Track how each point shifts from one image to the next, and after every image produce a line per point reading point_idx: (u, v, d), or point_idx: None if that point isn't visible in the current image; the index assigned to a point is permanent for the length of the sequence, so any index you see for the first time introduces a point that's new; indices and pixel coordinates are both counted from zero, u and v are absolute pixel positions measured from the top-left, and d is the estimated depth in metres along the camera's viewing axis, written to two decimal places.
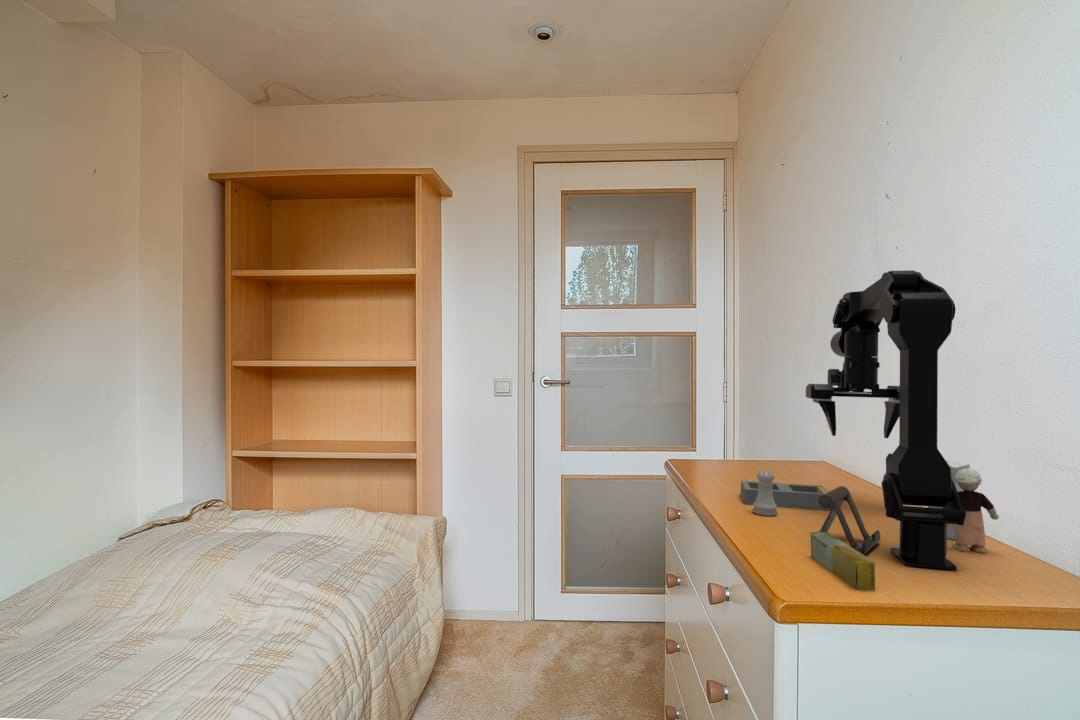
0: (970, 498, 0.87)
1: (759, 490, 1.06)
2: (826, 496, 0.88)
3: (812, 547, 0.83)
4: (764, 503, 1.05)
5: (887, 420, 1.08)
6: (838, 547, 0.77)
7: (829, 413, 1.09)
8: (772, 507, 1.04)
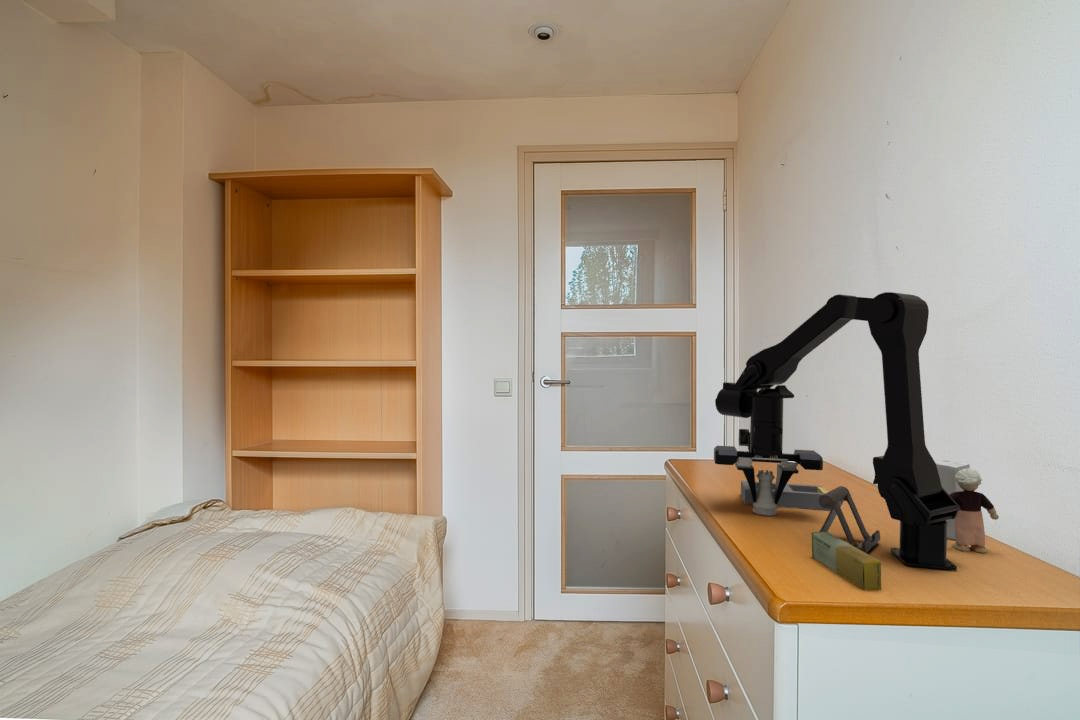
0: (970, 498, 0.87)
1: (759, 490, 1.06)
2: (826, 496, 0.88)
3: (813, 547, 0.83)
4: (764, 503, 1.05)
5: (776, 485, 1.05)
6: (842, 547, 0.77)
7: (748, 480, 1.05)
8: (772, 507, 1.04)
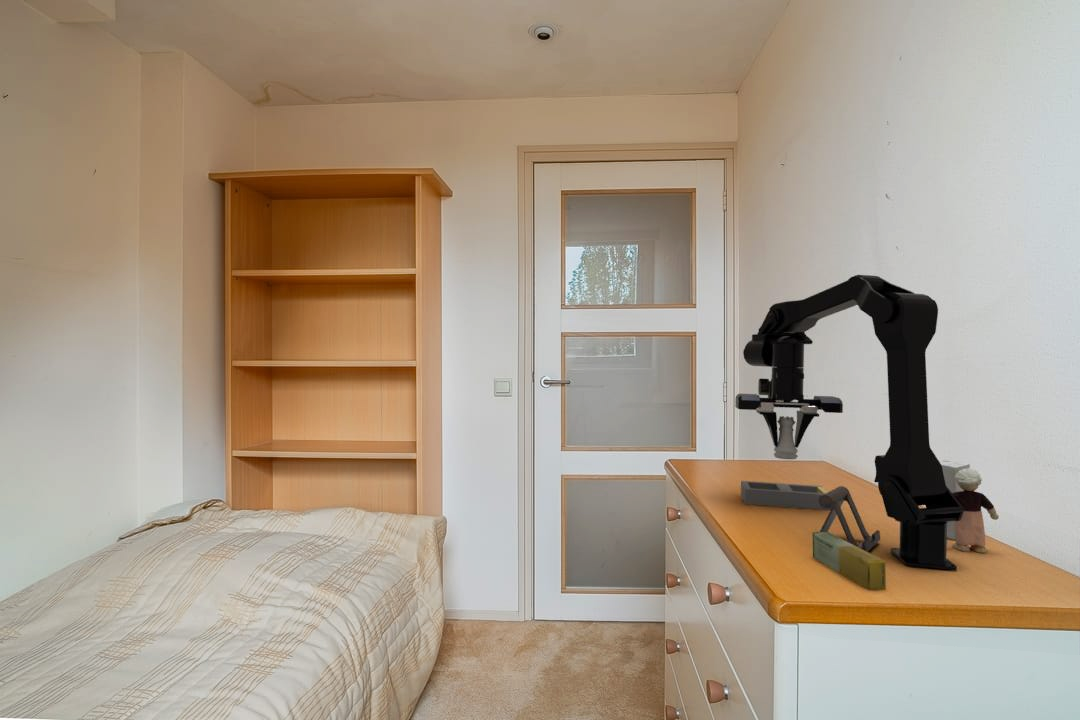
0: (970, 498, 0.87)
1: (780, 435, 1.10)
2: (826, 496, 0.88)
3: (814, 547, 0.83)
4: (785, 446, 1.09)
5: (797, 429, 1.09)
6: (845, 548, 0.77)
7: (771, 424, 1.09)
8: (793, 450, 1.08)
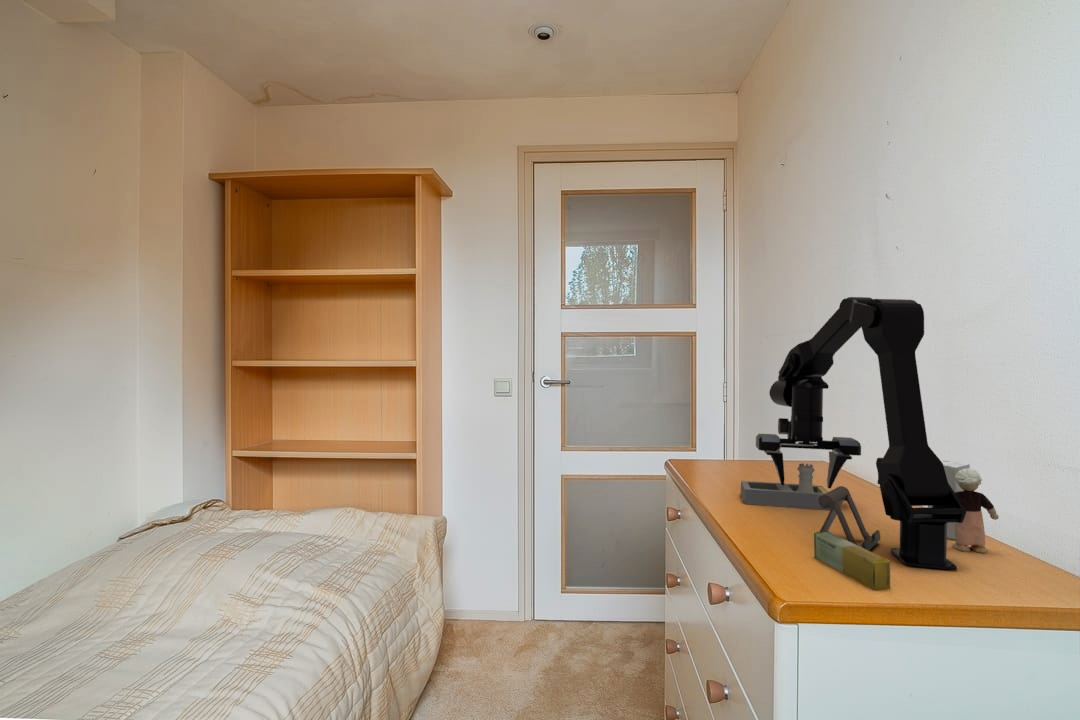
0: (970, 498, 0.87)
1: (800, 482, 1.14)
2: (826, 496, 0.88)
3: (816, 547, 0.83)
4: None
5: (830, 471, 1.12)
6: (849, 548, 0.77)
7: (777, 464, 1.13)
8: None
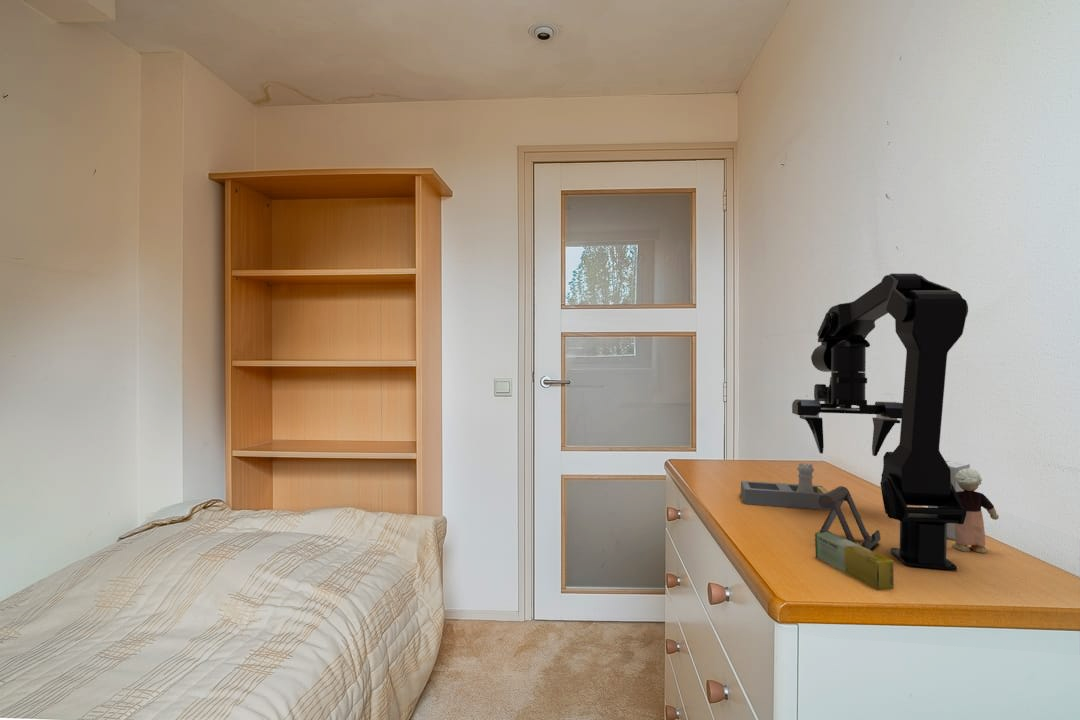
0: (970, 498, 0.87)
1: (800, 482, 1.14)
2: (826, 496, 0.88)
3: (817, 548, 0.83)
4: None
5: (875, 437, 1.05)
6: (851, 547, 0.77)
7: (816, 430, 1.05)
8: None
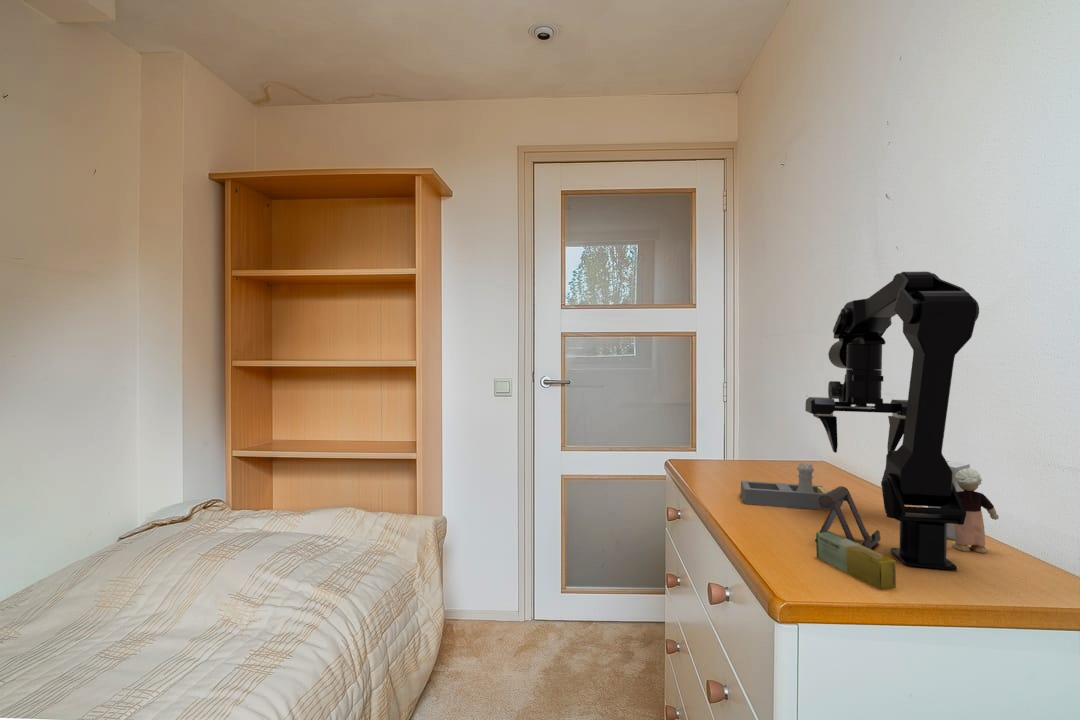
0: (970, 498, 0.87)
1: (800, 482, 1.14)
2: (826, 496, 0.88)
3: (818, 548, 0.83)
4: None
5: (891, 436, 1.02)
6: (853, 547, 0.77)
7: (830, 429, 1.03)
8: None
